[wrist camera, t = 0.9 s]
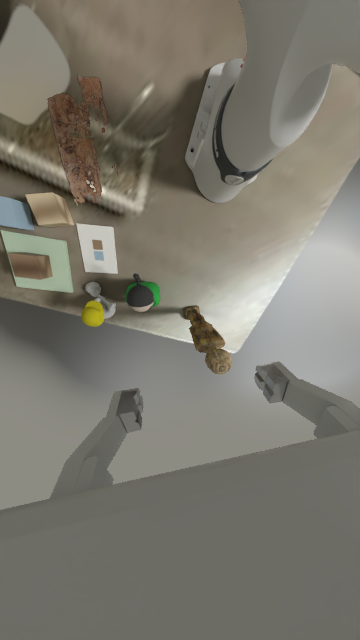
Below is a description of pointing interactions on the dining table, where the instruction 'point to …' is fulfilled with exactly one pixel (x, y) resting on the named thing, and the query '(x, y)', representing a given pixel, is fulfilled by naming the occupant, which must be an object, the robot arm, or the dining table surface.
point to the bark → (78, 149)
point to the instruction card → (97, 248)
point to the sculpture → (208, 341)
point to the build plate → (45, 247)
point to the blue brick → (15, 214)
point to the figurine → (97, 307)
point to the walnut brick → (30, 265)
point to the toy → (142, 295)
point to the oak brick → (50, 210)
